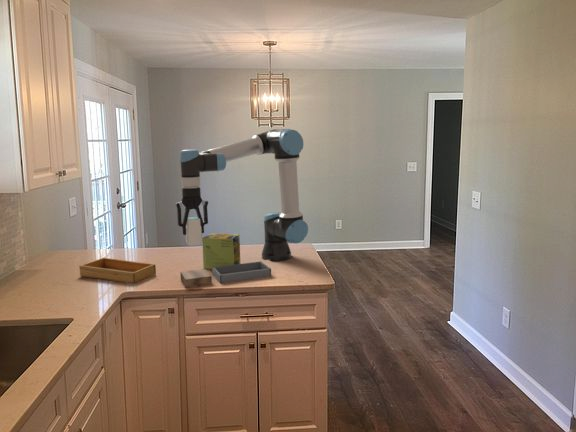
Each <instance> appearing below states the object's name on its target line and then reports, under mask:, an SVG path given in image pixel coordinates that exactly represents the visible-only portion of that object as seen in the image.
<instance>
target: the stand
mask: <svg viewBox="0 0 576 432" xmlns="http://www.w3.org/2000/svg"><path fill="white" fill-rule="evenodd" d="M208 271H209V270H207V269H204V268H201V269H192V270H186V271H185V270H183V271H180V282H181V283H182V285H183V286H184V287H185V288H184V289H193V288H199V287H201V286H206V285H212V284H213V282H212V281H213V280H212V279H213V278H212V276H213V275H211V274H210V273H209V272H208Z"/></svg>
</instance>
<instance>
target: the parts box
mask: <svg viewBox="0 0 576 432" xmlns="http://www.w3.org/2000/svg"><path fill="white" fill-rule="evenodd" d="M186 226H187V227H188V240H189V243H187V242H186V244H187V245H188V246H189V247H194V246H202V241H201V226H200V219H199V218H198V216H191V217H190V216H188V219H187V224H186Z"/></svg>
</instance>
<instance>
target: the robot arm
mask: <svg viewBox="0 0 576 432" xmlns="http://www.w3.org/2000/svg"><path fill="white" fill-rule="evenodd" d="M303 148H304V139H303V136H302V135H301V133H299V132H298V130H296V129H290V128H284V129H283V128H281V129H279V128H277V129H270V130H267V131H264V132H261V133H258V134H255V135H253V136H252V138H247V139H244V140H241V141H238V142H233V143H229V144H225V145H222V146H218V147H215V148H214V147H213V148H211V149H206V150H203V151H200V152H199V149H182V150H181V151H180V158H179V161H180V173H181V187H182V188H181V192H182V193H181V195H182V198H181V201H179V202H175V207H176V211H177V212H176V213H177V214H176V215H177V226H178V227H182V235H184V237H185V242H186V244H187V243H189V240H188V227H187V226H186V224H187V219H188V217H189V213H190V211H191V210H195V213H196V217H198V218H199V219H200V226H201V242H203V241H202V238H203V237H202V236H203V235H202V234H204V233H205V226H206V225H208V224H209V218H208V217H209V215H208V213H209V212H208V204H209V201H208V200H203V199H202V195H201V187H200V186H201V175H200V173H204V172H205V173H207V172H220V171H224V170H225V169H226V167H227V163H228V162H231V161H235V160H239V159H242V158H246V157H249V156H254V155H258V156H260V155H266V154H274V160H275V161H276V162H277V163H278V178H279V192H280V206H281V211H280V212H272V213H271V212H270V213H266V214H265V215H264V219H263V223H264V224H263V226H264V227H263V228H264V231H263V232H264V243H263V247H262V251H261V259H263V260H266V261H268V260H269V261H270V262H271V261H272V262H274V261H275V262H280V261H286V260H289V259H291V258H292V252H291V251H292V250H291V248H290V245H289V243H290V244H299V243H301V242H303V241H304V240H305V238H306V237H307V236H308V233H309V227H308V226H309V225H308V223H307V222H306V221H305V220H304V216H303V213H302V212H301V211H300V202H299V201H300V200H299V183H298V163H297V161H298V160H299V159H300V153H301V152H302V151H303ZM201 205H202V210H203V217H202V214H201V211H200V206H201ZM182 206H184V207H185V208H184V215H183V218H182Z"/></svg>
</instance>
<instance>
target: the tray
mask: <svg viewBox="0 0 576 432" xmlns="http://www.w3.org/2000/svg"><path fill="white" fill-rule="evenodd" d="M156 274H157V269H156V264H155V263H148V262H147V263H146V262H139V261H133V260H131V261H130V260H123V259H117V258H109V257H108V258H107V257H102V258H101V257H100V258H99V259H95V260H92V261H89V262H86V263H83V264H80V265H79V275H80V277H85V278H92V279H97V280H98V279H100V280H105V281H111V282H112V281H113V282H118V283H125V284H131V285H134V284H137V283H139V282H142V281H144V280H146V279H148V278H150V277H153V276H155V275H156Z"/></svg>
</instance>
